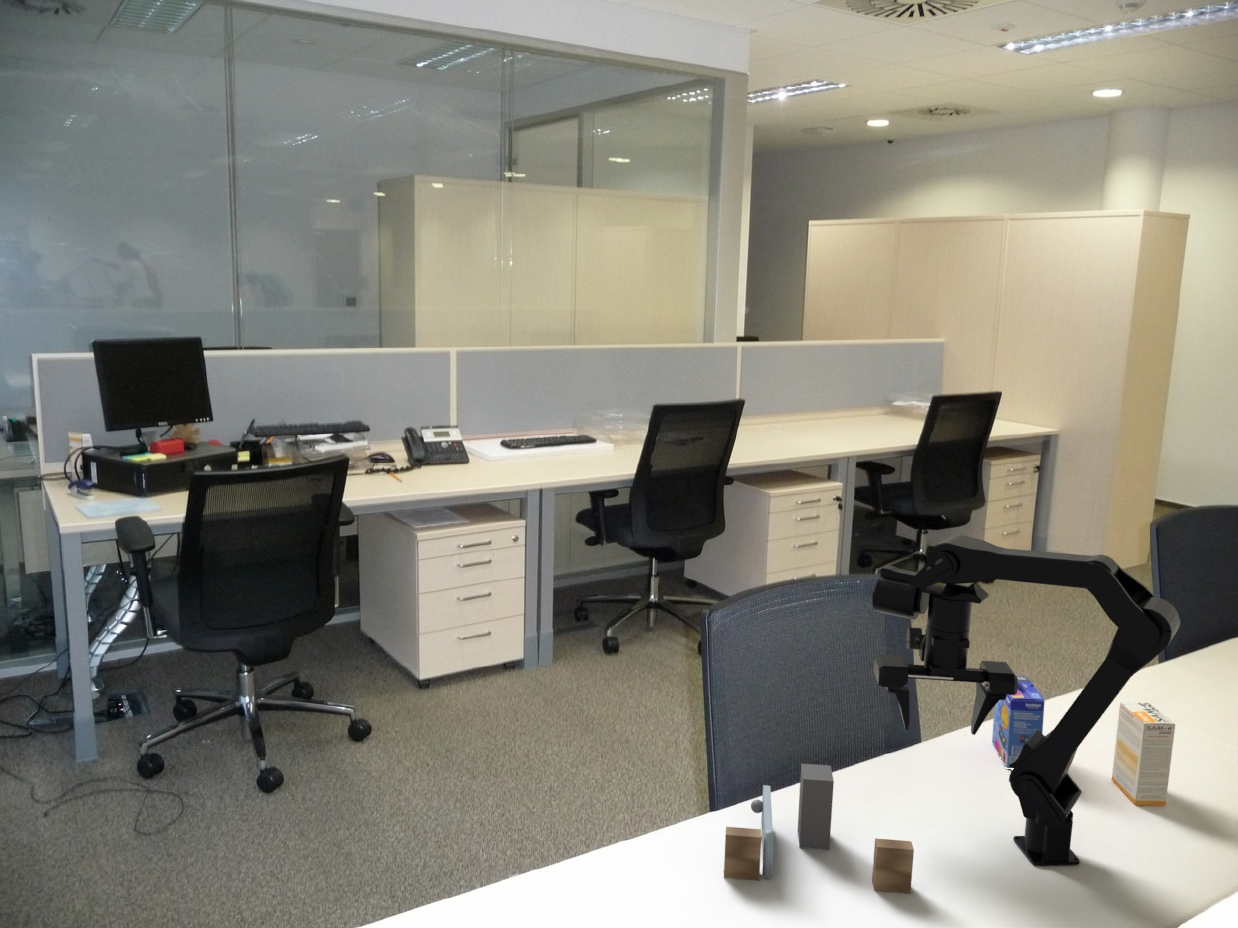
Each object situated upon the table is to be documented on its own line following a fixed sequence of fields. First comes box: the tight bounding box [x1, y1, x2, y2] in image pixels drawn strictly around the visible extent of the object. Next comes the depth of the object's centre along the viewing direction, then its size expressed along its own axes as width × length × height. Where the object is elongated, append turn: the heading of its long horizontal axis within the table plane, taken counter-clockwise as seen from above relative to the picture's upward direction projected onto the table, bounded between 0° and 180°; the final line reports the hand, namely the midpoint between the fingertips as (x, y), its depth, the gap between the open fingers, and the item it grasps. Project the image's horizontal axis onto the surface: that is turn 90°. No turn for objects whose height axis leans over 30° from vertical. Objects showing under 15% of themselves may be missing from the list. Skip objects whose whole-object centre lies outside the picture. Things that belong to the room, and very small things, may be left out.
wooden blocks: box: [723, 826, 915, 894], centre depth 132 cm, size 23×2×6 cm, turn 83°
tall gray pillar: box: [797, 763, 835, 851], centre depth 142 cm, size 4×4×10 cm
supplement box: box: [1111, 701, 1176, 807], centre depth 157 cm, size 8×5×13 cm, turn 179°
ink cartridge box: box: [991, 675, 1045, 768], centre depth 167 cm, size 10×6×14 cm, turn 174°
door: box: [750, 784, 775, 878], centre depth 139 cm, size 14×3×6 cm, turn 173°
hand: (939, 731), depth 147 cm, fingers open, 9 cm apart
